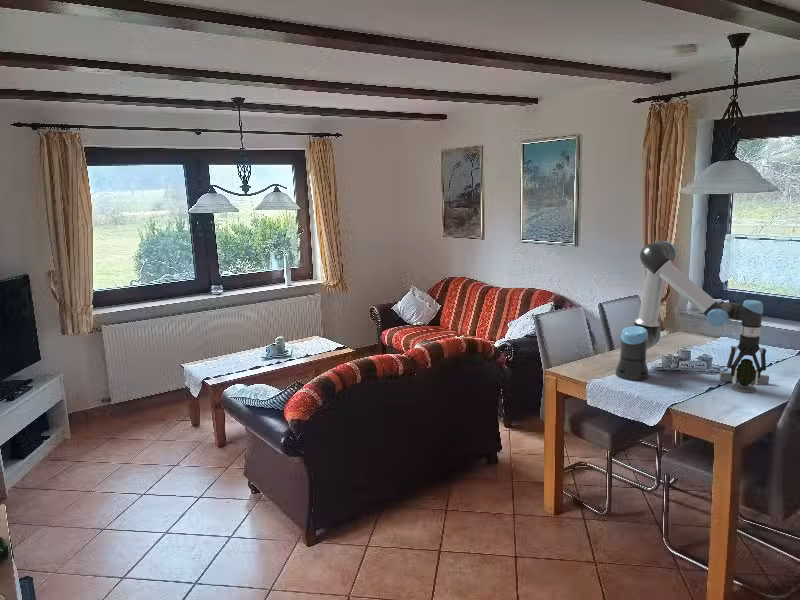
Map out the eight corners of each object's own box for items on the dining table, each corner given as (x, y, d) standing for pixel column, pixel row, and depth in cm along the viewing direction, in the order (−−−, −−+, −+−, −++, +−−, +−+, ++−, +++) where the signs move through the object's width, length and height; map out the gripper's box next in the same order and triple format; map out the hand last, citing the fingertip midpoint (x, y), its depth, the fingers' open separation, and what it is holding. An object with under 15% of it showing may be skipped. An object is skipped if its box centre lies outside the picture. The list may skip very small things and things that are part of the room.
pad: (734, 392, 260) (734, 390, 260) (729, 384, 270) (729, 383, 269) (759, 394, 257) (759, 392, 257) (753, 386, 267) (753, 385, 266)
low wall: (719, 380, 274) (720, 372, 274) (719, 379, 276) (720, 371, 275) (768, 384, 268) (769, 376, 268) (767, 383, 270) (768, 375, 269)
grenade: (757, 388, 259) (760, 362, 256) (737, 387, 260) (740, 362, 258) (750, 382, 266) (753, 357, 263) (731, 381, 268) (734, 356, 265)
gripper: (725, 335, 258) (720, 384, 263) (779, 338, 251) (772, 388, 256) (722, 331, 265) (717, 378, 269) (773, 334, 258) (767, 382, 263)
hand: (744, 383), depth 263 cm, fingers closed on grenade, 8 cm apart
